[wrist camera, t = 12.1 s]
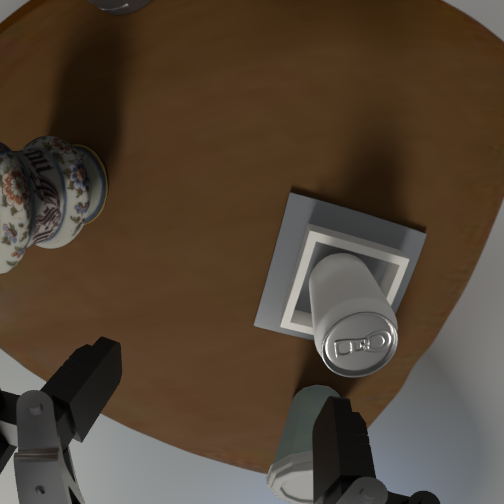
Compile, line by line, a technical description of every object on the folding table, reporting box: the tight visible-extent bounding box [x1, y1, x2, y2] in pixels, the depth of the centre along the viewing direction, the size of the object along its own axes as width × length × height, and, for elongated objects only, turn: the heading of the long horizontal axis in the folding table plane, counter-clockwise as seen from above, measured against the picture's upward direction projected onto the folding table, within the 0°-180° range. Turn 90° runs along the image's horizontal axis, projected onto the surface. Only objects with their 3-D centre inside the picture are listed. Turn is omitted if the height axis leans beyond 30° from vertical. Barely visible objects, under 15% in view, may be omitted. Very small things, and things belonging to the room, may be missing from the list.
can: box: [309, 253, 398, 377], centre depth 26 cm, size 6×6×12 cm
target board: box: [254, 192, 427, 341], centre depth 30 cm, size 15×15×4 cm
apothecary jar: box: [0, 136, 108, 273], centre depth 24 cm, size 12×12×18 cm
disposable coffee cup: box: [266, 385, 340, 504], centre depth 30 cm, size 11×11×15 cm
